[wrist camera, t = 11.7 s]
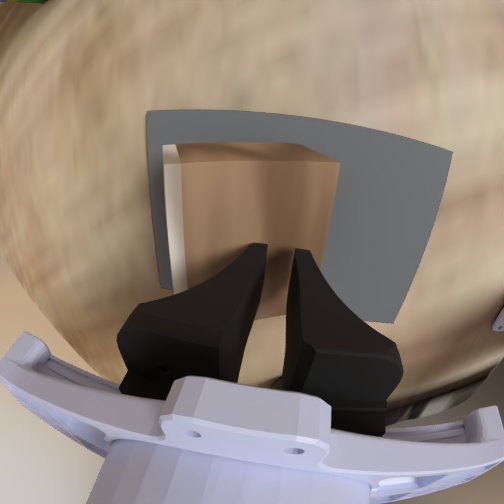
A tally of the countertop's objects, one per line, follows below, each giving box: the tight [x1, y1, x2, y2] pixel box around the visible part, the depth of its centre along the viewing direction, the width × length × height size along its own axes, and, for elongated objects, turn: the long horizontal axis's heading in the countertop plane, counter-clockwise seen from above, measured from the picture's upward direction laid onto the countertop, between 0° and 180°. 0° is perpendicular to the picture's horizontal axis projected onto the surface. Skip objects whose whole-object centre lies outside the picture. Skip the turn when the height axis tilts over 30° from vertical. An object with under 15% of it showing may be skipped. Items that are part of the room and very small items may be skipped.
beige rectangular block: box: [163, 142, 340, 320], centre depth 14 cm, size 4×8×7 cm
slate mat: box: [147, 110, 453, 324], centre depth 17 cm, size 18×13×1 cm
